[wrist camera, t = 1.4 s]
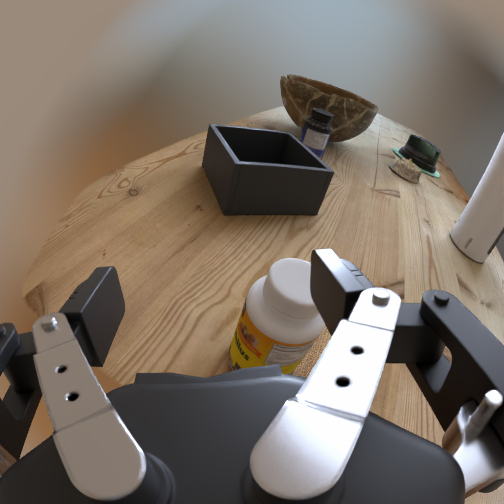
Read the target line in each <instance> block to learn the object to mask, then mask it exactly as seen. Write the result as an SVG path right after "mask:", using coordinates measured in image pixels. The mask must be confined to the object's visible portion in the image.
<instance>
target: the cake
mask: <svg viewBox="0 0 504 504" xmlns="http://www.w3.org/2000/svg"><path fill="white" fill-rule="evenodd" d="M411 161H412V159H411V158H410V159H409V160H408V159H405V158H400V160H398V161H397V162H396V164H395V163H390V164H389V165H390V167H391V169H393V171H395V172H396V173H397V174H398V175H400V176H401V177H403V178H404V179H406V180H408V181H410V182H413V183H418V182H419V177H420V175H421V171H420V169H419V168H418V167H417V166H416V165H415V164H414V163H412V162H411Z"/></svg>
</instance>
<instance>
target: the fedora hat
mask: <svg viewBox="0 0 504 504" xmlns="http://www.w3.org/2000/svg"><path fill="white" fill-rule="evenodd" d="M393 150H394V151H395V152H396V153H397V155H399V156H400V157H401V158H405V159H408V160H409V159H410V158H411V159H412V161H411V162H412V163H414V164H415V165H416V166H417V167H418V168H419V169H420V171H422V172H424V173H427V174H429V175H431V176H435V177H440V175H439V173H438V172H437V171H436V166H435V165H436V163H437V160H438V158H439V156H440V153H441V151H440V150H439V149H438V147H436V146H435V145H434V144H432V143H431V142H429V141H427V140H426V139H424V138H422V137H419V136H416V135H410V137H409V139H408V141H407V143H406V145H405V146H404V147H402V148H400V149H399V148H393Z"/></svg>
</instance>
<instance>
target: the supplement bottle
mask: <svg viewBox="0 0 504 504" xmlns="http://www.w3.org/2000/svg"><path fill="white" fill-rule="evenodd" d="M310 273H311V263H309V262H307V261H304V260H301V259H296V258H285V259H281V260H279V261H277V262H275V263H274V264H273V265H272V266H271V268H270V270H269V273H268V275H266V276H264V277H262V278H260V279H258V280H257V281H256V282H255V283H254V284H253V285H252V286H251V288H250V290H249V292H248V295H247V297H246V300H245V303H244V306H243V310H242V313H241V316H240V319H239V321H238V325H237V327H236V330H235V333H234V337H233V339H232V342H231V346H230V349H229V362H230V366H231V368H232V370H233V371H235V370H239V369H243V368H250V367H259V366H268V365H276V364H280V365H281V369H282V373H283V374H289V375H291V374H292V372H293V371H294V370H295V368H296V367H297V366H298V364H299V363H300V362H301V360H302V359H303V358H304V356H305V355H306V354H307V352H308V351H309V349H310V348H311V347H312V345H313V344H314V342H315V341H316V340H317V338H318V337H319V335H320V334H321V332H322V331H323V329H324V327H325V326H326V325H325V323H324V321H323V319H322V317H321V315H320V313H319V312H318V310H317V308H316V306H315V304H314V302H313V300H312V297H311V293H310Z"/></svg>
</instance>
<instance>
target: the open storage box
mask: <svg viewBox="0 0 504 504" xmlns="http://www.w3.org/2000/svg"><path fill="white" fill-rule="evenodd" d="M202 167H203V169H204V171H205V173H206V176H207V178H208V180H209V182H210V185H211V187H212V189H213V191H214V194H215V196H216V198H217V200H218V203H219V205H220V207H221V209H222V212H223V214H224V215H317V214H318V211H319V209H320V206H321V204H322V202H323V199H324V197H325V194H326V192H327V189H328V187H329V184H330V182H331V179H332V177H333V174H334V171H333V170H331V169H330V168H329V167H328V166H327V165H326V164H325V163H324V162H323V161H322V160H321V159H320V158H319V157H317V156H316V155H315V154H314V153H313V152H312V151H311V150H310V149H308V148H307V147H306V146H305V145H304V144H303V143H302V142H301V141H299V140H298V139H297V138H296V137H295V136H294V135H292V134H291V133H289V132H281V131H274V130H266V129H258V128H249V127H239V126H228V125H214V124H209V128H208V134H207V139H206V145H205V151H204V156H203V162H202Z"/></svg>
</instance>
